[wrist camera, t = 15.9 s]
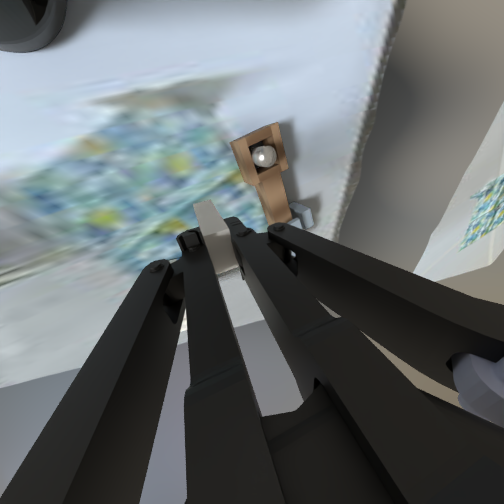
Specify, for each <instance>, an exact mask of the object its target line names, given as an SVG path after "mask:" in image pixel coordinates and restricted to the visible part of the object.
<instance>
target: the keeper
mask: <svg viewBox="0 0 504 504" xmlns="http://www.w3.org/2000/svg"><path fill="white" fill-rule="evenodd" d="M289 208H290V212H291V216H292V220H291V221H289V222H288V223H287V224H290V225H292V226H295V227H297V228H300V229H302V228H304V229H308V228H310V227H311V226H313V225H314V223H313V219H312V214H311V210H310V208H308V207H306V206H303V205H301V204H299V203H296V202H292V203H291V204H289ZM292 255H293V256H295V253H294V252H292Z"/></svg>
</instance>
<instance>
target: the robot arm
mask: <svg viewBox="0 0 504 504" xmlns="http://www.w3.org/2000/svg"><path fill="white" fill-rule="evenodd" d="M65 13H66V0H0V50H1V51H7V52H29V51H34V50H37V49H40V48H42V47H44V46H46V45H47V44H49V43H50V42H51V41H52V40H53V39H54V38H55V37H56V36H57V34H58V33H59V31H60V29H61V27H62V25H63V22H64V18H65ZM193 206H194V210H195V213H196V216H197V220H198V223H199V227H197V228H193V229H190V230H186V231H185V232H183V233H181V234H179V235H178V236H177V238H176V240H177V242H178V244H179V246H180V249H181V251H182V257H181V258H180V259H178V260H176V261H175V262H173V263H171V264H170V262H169V261H168V260H165V259H162V260H157V261H153V262H151V263H150V264H149V265H147V266H146V267H145V268H144V269H143V270H142V272H141V274H140V275H139V277H138V278H137V280H136V282H135V283H134V285H133V286H132V288H131V290H130V291H129V293H128V294H127V296H126V298H125V299H124V301H123V302H122V304H121V306H120V307H119V309H118V310H117V312H116V314H115V315H114V317H113V318H112V320H111V322H110V323H109V325H108V326H107V328H106V330H105V331H104V333H103V334H102V336H101V338H100V339H99V341H98V342H97V344H96V346H95V347H94V349H93V350H92V352H91V354H90V355H89V357H88V358H87V360H86V362H85V363H84V365H83V366H82V368H81V370H80V371H79V373H78V374H77V376H76V378H75V379H74V381H73V382H72V384H71V386H70V387H69V389H68V390H67V392H66V394H65V395H64V397H63V398H62V400H61V402H60V403H59V405H58V406H57V408H56V410H55V411H54V413H53V415H52V416H51V418H50V419H49V421H48V422H47V424H46V426H45V427H44V429H43V430H42V432H41V434H40V436H39V437H38V439H37V440H36V442H35V443H34V445H33V446H32V448H31V450H30V451H29V453H28V454H27V456H26V458H25V459H24V461H23V462H22V464H21V466H20V467H19V469H18V470H17V472H16V474H15V475H14V477H13V478H12V480H11V482H10V483H9V485H8V486H7V488H6V490H5V491H4V493H3V494H2V496H1V498H0V504H139V502H140V498H141V493H142V489H143V485H144V481H145V477H146V473H147V469H148V464H149V460H150V456H151V452H152V447H153V443H154V439H155V435H156V430H157V427H158V422H159V418H160V414H161V410H162V406H163V402H164V397H165V393H166V389H167V385H168V380H169V376H170V372H171V368H172V364H173V360H174V355H175V351H176V347H177V343H178V339H179V335H180V330H181V326H182V322H183V318H184V314H185V309H186V318H187V333H188V348H189V362H190V376H191V383H190V387H189V388H188V389H187V390H186V392H185V397H184V423H185V450H186V480H187V499H186V502H185V504H504V305H502V304H498V303H494V302H490V301H486V300H482V299H477V298H473V297H471V296H469V295H466V294H464V293H461V292H459V291H456V290H453V289H451V288H448V287H446V286H443V285H441V284H438V283H436V282H433V281H431V280H428V279H426V278H423V277H421V276H418V275H416V274H413V273H411V272H408V271H405V270H403V269H401V268H398V267H395V266H393V265H391V264H388V263H386V262H383V261H380V260H378V259H375V258H373V257H370V256H368V255H365V254H363V253H360V252H358V251H355V250H353V249H350V248H348V247H345V246H343V245H340V244H338V243H335V242H333V241H330V240H328V239H325V238H323V237H320V236H318V235H315V234H313V233H310V232H308V231H305V230H303V229H300V228H297V227H295V226H292V225H290V224H287V223H281V222H277V223H274V224H271V225H270V226H268V228H267V230H268V232H266V233H256V232H255V231H254V230H253V229H251V228H246V227H245V226H244V225H243V223H242V222H241V221H240V220H239V219H238V218H237V217H234V216H233V217H229V218H226V219H223V218H222V217H221V215H220V214H219V212H218V211H217V209H216V208H215V206H214V204H213V203H212V201H211V200H207V201H203V202H199V203H196V204H193ZM292 252H294V253H295V256H293V255H292ZM238 264H239V266H238ZM237 267H240V271H241V275H242V279H243V280H245V281H246V283H247V285H248V287H249V289H250V291H251V293H252V295H253V297H254V299H255V300H256V302H257V304H258V306H259V308H260V310H261V312H262V314H263V316H264V318H265V320H266V322H267V324H268V326H269V328H270V330H271V332H272V334H273V336H274V338H275V340H276V341H277V344H278V345H279V347H280V350H281V351H282V353H283V355H284V357H285V359H286V361H287V363H288V365H289V367H290V369H291V371H292V373H293V375H294V377H295V379H296V382H297V385H298V388H299V391H300V393H301V396H302V398H303V400H304V402H303V404H302V405H301V406H300V407H299V408H298V409H297V410H295V411H293V412H287V413H281V414H276V415H270V416H264V417H262V414H261V411H260V408H259V405H258V402H257V399H256V396H255V393H254V390H253V387H252V384H251V381H250V378H249V375H248V371H247V368H246V365H245V362H244V359H243V356H242V353H241V350H240V346H239V344H238V340H237V337H236V334H235V331H234V328H233V325H232V322H231V318H230V315H229V312H228V309H227V306H226V303H225V300H224V297H223V294H222V290H221V287H220V284H219V281H218V278H217V274H220V273H223V272H225V271H228V270H231V269H234V268H237ZM318 300H319V301H320V302H321V303H323V304H324V305H326V306H327V307H329V308H330V309H331V310H333V311H334V312H335V313H337V314H338V315H340V316H341V317H340V318H335V317H333V316H331V315H330V314H329V313H328V312H327V310H326V309H325V308H324V307H323V306H322V305H321V304H320V303H319V302H318ZM360 330H361V331H362V332H364V333H365V334H366V335H367V336H369V337H370V338H372V339H373V340H375V341H376V342H377V343H379V344H380V345H381V346H383V347H384V348H386V349H387V350H389V351H390V352H391V353H393V354H394V355H396V356H397V357H398V358H400V359H401V360H403V361H404V362H406V363H407V364H409V365H410V366H412V367H413V368H415V369H416V370H418V371H419V372H421V373H423V374H424V375H426V376H428V377H430V378H431V379H433V380H435V381H436V382H438V383H440V384H442V385H444V386H446V387H448V388H450V389H452V390H454V391H456V392H458V393H460V394H459V395H458V401H459V403H460V405H461V406H462V408H463V409H461V408H459V407H457V406H455V405H453V404H450V403H448V402H446V401H444V400H442V399H439V398H438V397H435V396H433V395H431V394H429V393H426V392H425V391H422V390H420V389H418V388H416V387H415V386H414V385H413V384H412V383H411V382H410V381H409V380H408V379H407V378H406V376H404V375H403V373H402V372H401V371H400V370H399V369H398V368H397V367H396V366H395V365H394V364H393V363H392V362H391V361H390V360H388V359H387V357H386V356H385V355H384V354H383V353H382V352H381V351H380V350H379V349H377V347H376V346H375V345H374V344H373V343H372V342H371V341H370V340H369V339H368V338H367V337H366V336H365V335H364V334H363V333H362V332H361V331H360ZM490 421H491V422H490ZM492 422H493V423H492Z"/></svg>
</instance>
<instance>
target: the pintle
mask: <svg viewBox="0 0 504 504" xmlns="http://www.w3.org/2000/svg"><path fill="white" fill-rule="evenodd" d="M248 148H249V151H250V154H251V157H252V160H253V163H254V165H256V166H262V167H271V166H272V165H273V164H274V163H275V161H276V151H275V149H274V148H273V147H271V146H259V147H248Z"/></svg>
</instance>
